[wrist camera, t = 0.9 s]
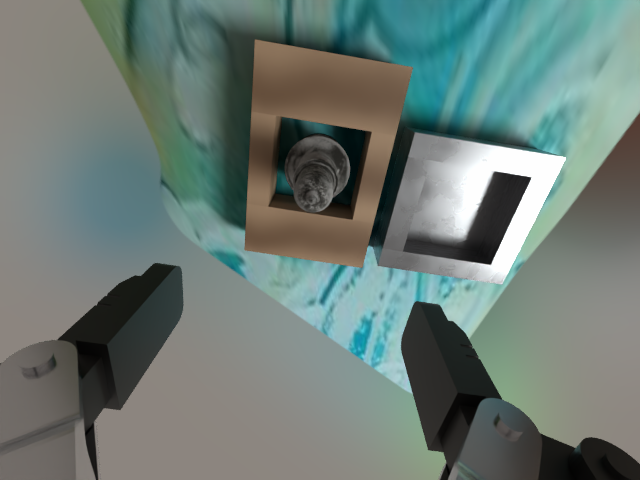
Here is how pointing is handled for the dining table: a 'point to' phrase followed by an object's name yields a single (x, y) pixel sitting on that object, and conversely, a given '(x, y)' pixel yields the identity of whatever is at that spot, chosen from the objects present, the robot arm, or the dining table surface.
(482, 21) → the dining table surface
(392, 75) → the wooden rectangular frame
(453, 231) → the seat block
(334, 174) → the chess piece
